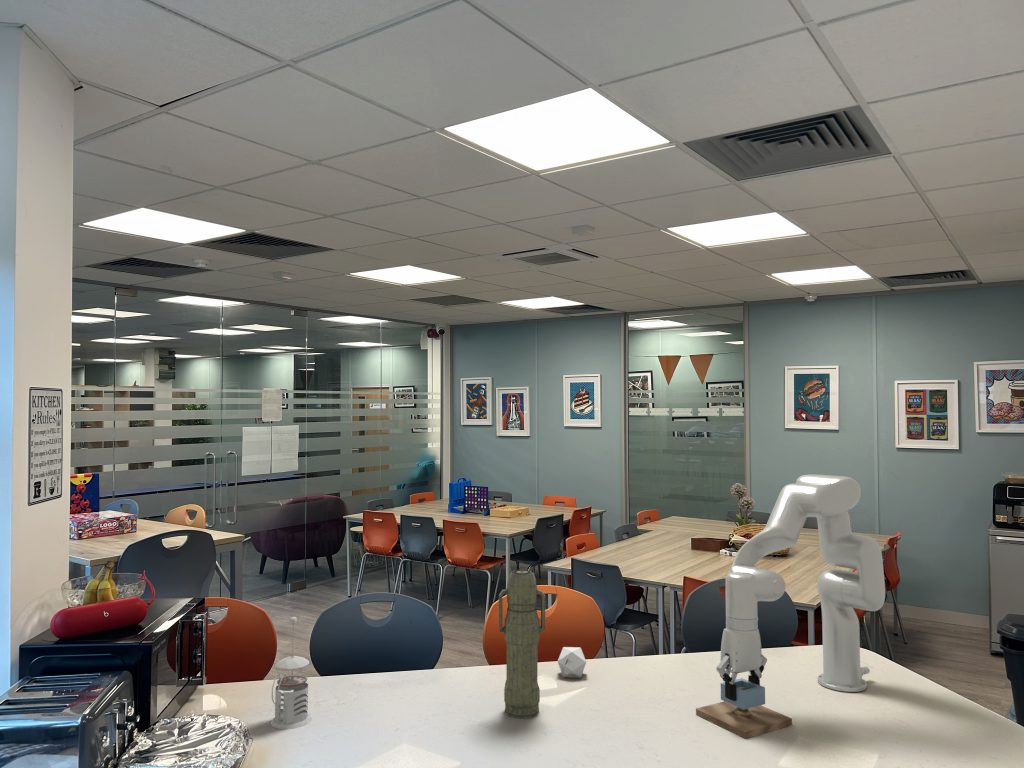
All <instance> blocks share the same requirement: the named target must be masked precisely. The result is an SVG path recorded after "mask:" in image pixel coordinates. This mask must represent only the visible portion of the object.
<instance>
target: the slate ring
mask: <svg viewBox="0 0 1024 768" xmlns="http://www.w3.org/2000/svg"><path fill="white" fill-rule="evenodd" d="M734 684H736V688H737V690H736V701H732V700H730V699H728V698H726V697H725V682H724V681H722V682H720V700H721V701H722V702H724V701H725V702H727V703H730V704H732V705H734V706H736V707H739V708H741V709H743V710H744V709H748V708H752V707H756V706H760V705H761V706H764V705H766V687H765V686H763V685H761V684H760V685H757V684H755V683H752V682H750V681H748V679H745V678H743V677H742V678H738V679H737V678H736V680H735V683H734ZM738 687H746V688H748V689H746V690H742V689H739V688H738Z"/></svg>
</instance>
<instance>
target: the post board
mask: <svg viewBox="0 0 1024 768" xmlns="http://www.w3.org/2000/svg"><path fill="white" fill-rule="evenodd" d="M738 688H739V689H742V690H746V689H748V688H746V687H738ZM695 715H696V716H698V717H699V718H701V719H704V720H706V721H708V722H711V723H712V724H714V725H716V726H718V727H721V728H722V729H725V730H726V731H729V732H731V733H733V734H735V735H737V736H739V737H740V738H743V739H749V738H751V737H756V736H759V735H761V734H765V733H770V732H772V731H775V730H779V729H780V730H781V729H782V728H786V727H790V726H793V718H792V717H790V716H788V715H785V714H783V713H780V712H777V711H776V710H773V709H771V708H768V707H767V706H764V705H760V706H756V707H752V708H748V709H744V710H743V709H741V708H739V707H736V706H734V705H732V704H730V703H727V702H725V701H719V702H716V703H713V704H708V705H705V706H702V707H696V709H695Z"/></svg>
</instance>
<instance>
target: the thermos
mask: <svg viewBox="0 0 1024 768" xmlns="http://www.w3.org/2000/svg"><path fill="white" fill-rule="evenodd" d="M506 585H507V586H506V588H504V589H501V591H500V593H499V594H498V629H499V630H498V631H499V633H500V632H501V633H503V634H504V641H505V643H506V672H505V673H506V675H505V676H506V679H505V683H504V689H503V692H504V693H503V694H504V696H503V697H504V700H503V702H504V707H505V708H504V712H505V714H506V716H509V717H511V718H514V717H515V719H530V718H533V717H536V716H537V715H539V713H540V706H539V705H540V701H541V700H540V698H541V695H540V693H541V692H540V690H541V689H540V686H539V683H538V645H539V642H540V634H541V633H542V632H543V631H544V630H545V629H546V595H545V593H544V592H543V590H542V589H538V585H537V579H536V576H535V573H534V571H533V572H532V570H529V569H514V570H513V571H511V572H510V573H509V576H508V579H507V583H506ZM538 594H539V595H540V618H539V615H538V608H537V603H538ZM504 595H506V596H507V597H506V603H507V608H506V613H505V614H506V615H505V618H504V625H503V597H504ZM529 717H530V718H529Z"/></svg>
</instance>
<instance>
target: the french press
mask: <svg viewBox="0 0 1024 768" xmlns="http://www.w3.org/2000/svg"><path fill="white" fill-rule="evenodd" d="M288 621H289V623H292V632H294V625H295V624H294V623H297V622H298V619H297V617H296V616H291V617H290V618H289V620H288ZM291 636H292V639H291V640H292V643H291V646H292V647H291V650H292V651H291V655H289V656H287V657H284V658H282V659H280V660H279V661H277V662H276V663H275V665H274V667H275V668H276V669H277V670H280V671H291V675H288V676H286V675H285V674H283V676H282V677H281V675H280V673H279V674H277V676H276V677H275V678H274V681H273V683H272V686H271V700H272V703H273V704H274V717H273V718H272V719H271V720H270V726H272V727H273V728H276V729H279V730H280V729H281V730H282V729H283V730H289V729H296V728H297V729H298V728H301V727H304V726H306V725H308V724H310V722H312V720H313V719H312V718H313V717H312V716H311V715H310V714H309V712H308V710H309V707H308V705H309V701H308V700H309V696H308V695H309V683H308V682H307V681H308V678H307V677H306V676H304V675H300V674H299V675H295V674H294V675H293V671H294V670H295V671H296V670H300V669H304V668H306V667H307V666H308V665H309V664H310V661H309V659H307V658H305V657H304V656H298V655H294V635H291ZM277 678H278V679H277ZM275 682H276V684H277V685H276V686H275ZM274 686H275V690H274ZM274 691H275V693H274ZM281 691H282V692H281ZM273 694H275V695H273ZM274 696H275V699H274ZM274 700H275V701H274ZM282 702H283V703H282Z"/></svg>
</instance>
